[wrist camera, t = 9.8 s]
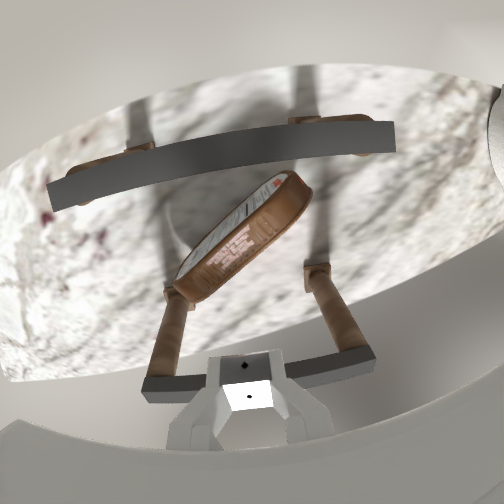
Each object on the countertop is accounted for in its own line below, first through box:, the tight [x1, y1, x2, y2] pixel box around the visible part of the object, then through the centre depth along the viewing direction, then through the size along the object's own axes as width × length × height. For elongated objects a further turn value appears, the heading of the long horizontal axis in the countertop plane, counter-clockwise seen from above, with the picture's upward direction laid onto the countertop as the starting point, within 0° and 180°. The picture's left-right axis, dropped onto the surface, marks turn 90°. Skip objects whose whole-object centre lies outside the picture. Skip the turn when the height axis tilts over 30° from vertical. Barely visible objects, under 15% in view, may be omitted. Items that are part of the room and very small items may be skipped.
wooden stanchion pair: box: [65, 114, 374, 377], centre depth 22 cm, size 19×19×12 cm
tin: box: [172, 171, 313, 304], centre depth 24 cm, size 15×3×8 cm, turn 132°
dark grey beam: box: [141, 345, 376, 403], centre depth 19 cm, size 18×2×2 cm, turn 98°
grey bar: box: [46, 121, 396, 212], centre depth 12 cm, size 18×2×2 cm, turn 98°
